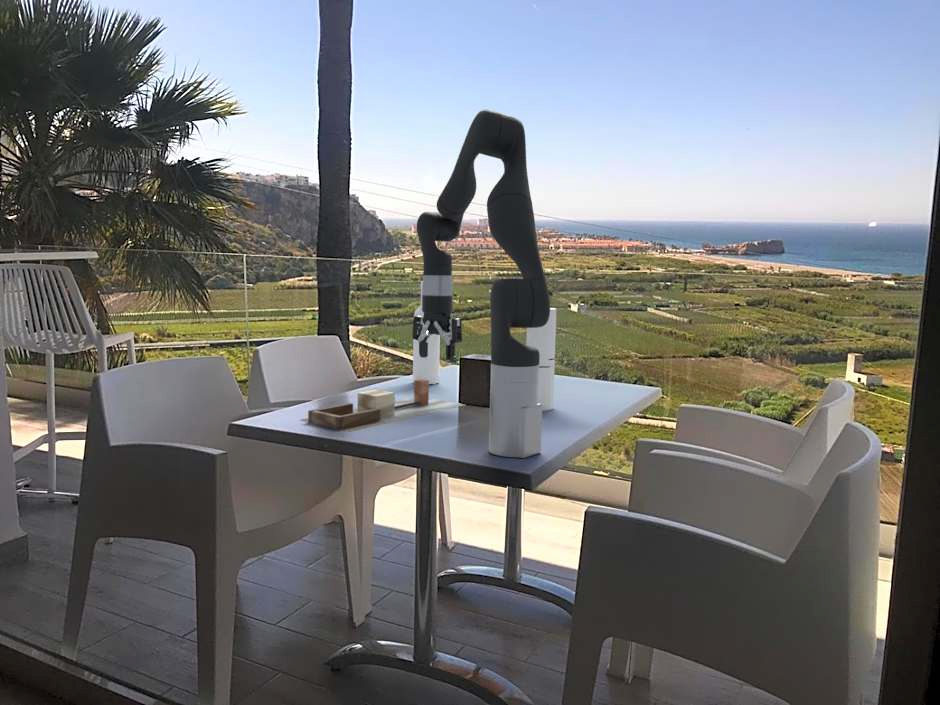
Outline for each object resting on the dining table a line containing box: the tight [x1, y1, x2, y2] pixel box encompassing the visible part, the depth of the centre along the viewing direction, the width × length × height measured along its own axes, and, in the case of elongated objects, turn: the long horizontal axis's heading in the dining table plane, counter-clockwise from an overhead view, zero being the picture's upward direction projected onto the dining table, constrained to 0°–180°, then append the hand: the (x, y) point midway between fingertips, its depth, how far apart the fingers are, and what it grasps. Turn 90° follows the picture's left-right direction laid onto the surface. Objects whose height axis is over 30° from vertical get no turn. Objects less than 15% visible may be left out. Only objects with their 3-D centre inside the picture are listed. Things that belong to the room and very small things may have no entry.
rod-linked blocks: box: [357, 379, 430, 417], centre depth 177 cm, size 6×20×6 cm, turn 142°
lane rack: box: [300, 396, 467, 432], centre depth 175 cm, size 16×39×3 cm, turn 142°
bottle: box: [412, 280, 441, 385], centre depth 219 cm, size 8×8×30 cm
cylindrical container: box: [525, 307, 557, 412], centre depth 186 cm, size 7×7×25 cm
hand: (436, 358), depth 187 cm, fingers open, 8 cm apart
